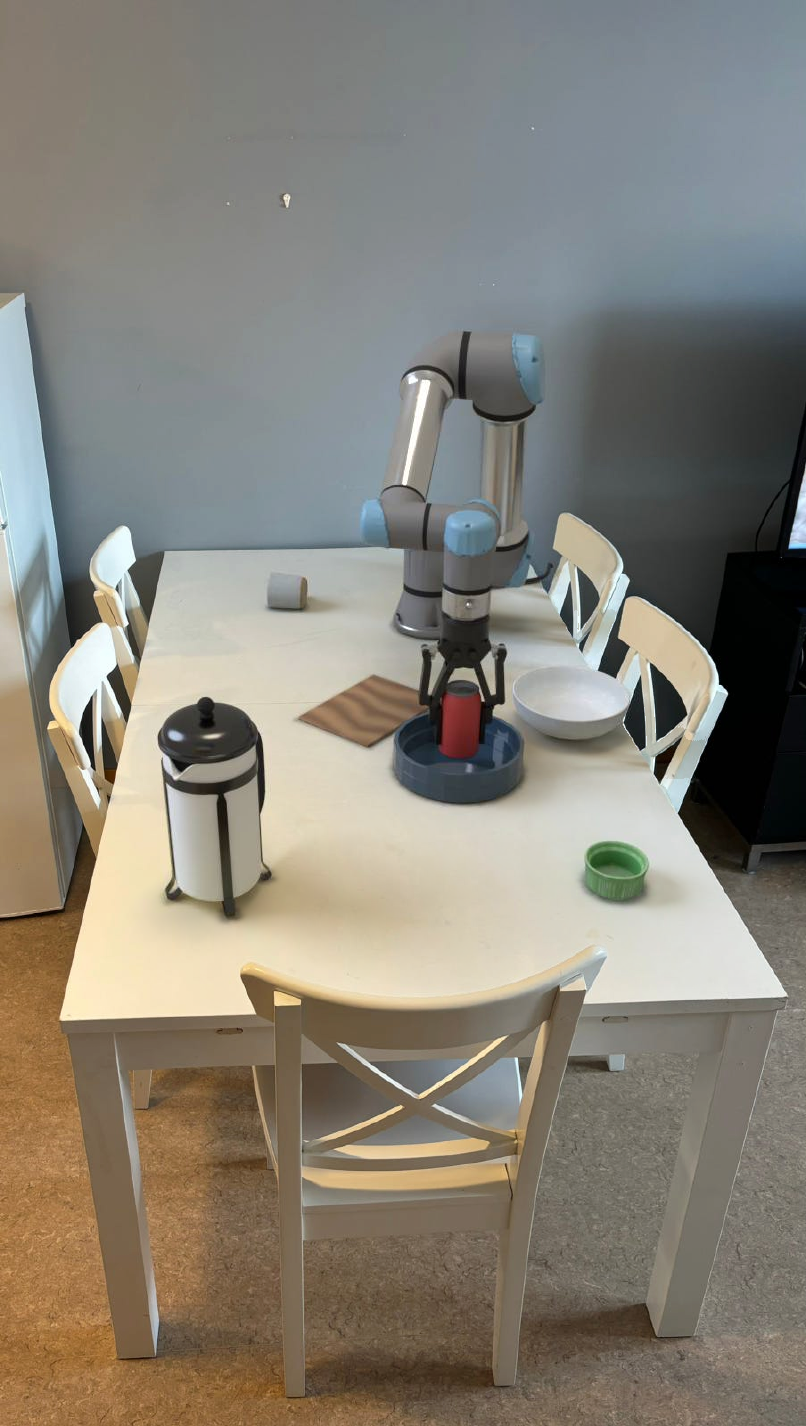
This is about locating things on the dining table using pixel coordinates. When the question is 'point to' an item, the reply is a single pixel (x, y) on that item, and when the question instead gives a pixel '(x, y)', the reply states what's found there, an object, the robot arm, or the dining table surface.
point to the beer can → (460, 719)
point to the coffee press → (213, 801)
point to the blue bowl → (458, 762)
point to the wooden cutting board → (367, 710)
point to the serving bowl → (570, 701)
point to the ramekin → (615, 869)
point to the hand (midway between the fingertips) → (459, 739)
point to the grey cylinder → (286, 591)
